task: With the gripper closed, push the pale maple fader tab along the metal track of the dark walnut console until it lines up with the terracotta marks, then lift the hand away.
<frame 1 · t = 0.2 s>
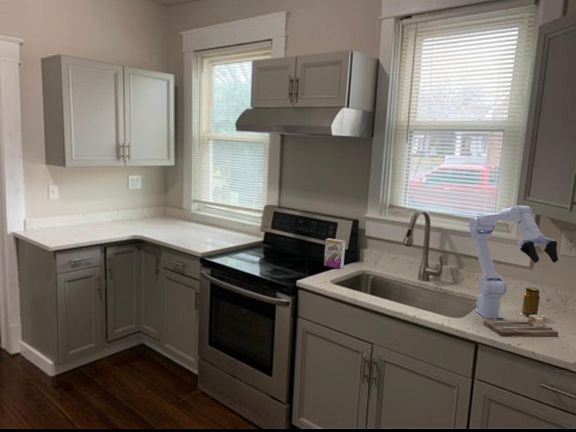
hand: (546, 261, 160), 31 cm above the countertop, tool tilted 45°, fingers open, 7 cm apart
candy bar box: (333, 267, 261), on the countertop
condiment: (531, 316, 194), on the countertop
fader tab: (535, 321, 176), point 4 cm above the countertop, slide at 0.5 cm
console: (519, 329, 176), on the countertop
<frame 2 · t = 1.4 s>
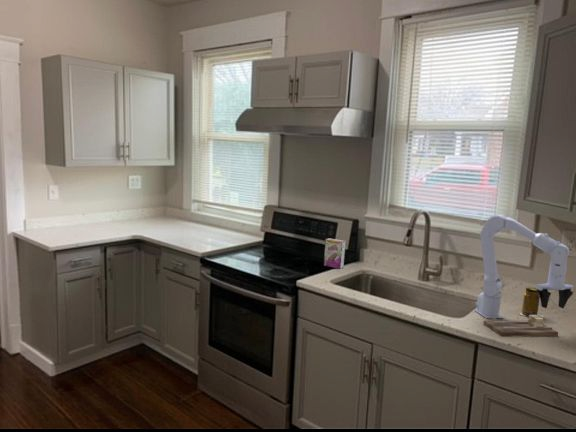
hand: (552, 307, 176), 10 cm above the countertop, tool pointing down, fingers open, 7 cm apart
nothing on the countertop moved.
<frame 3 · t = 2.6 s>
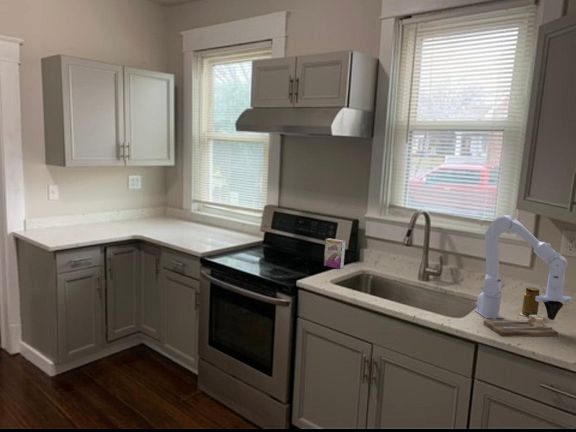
hand: (550, 318, 177), 5 cm above the countertop, tool pointing down, fingers closed
nothing on the countertop moved.
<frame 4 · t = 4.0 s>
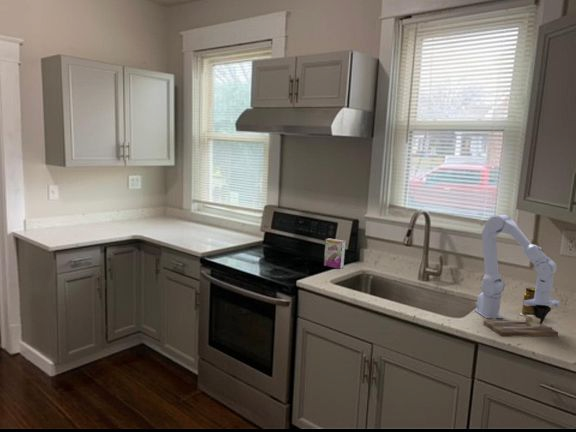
hand: (538, 322, 177), 3 cm above the countertop, tool pointing down, fingers closed
fader tab: (532, 321, 176), point 4 cm above the countertop, slide at 1.8 cm, touching gripper
everything else where it was.
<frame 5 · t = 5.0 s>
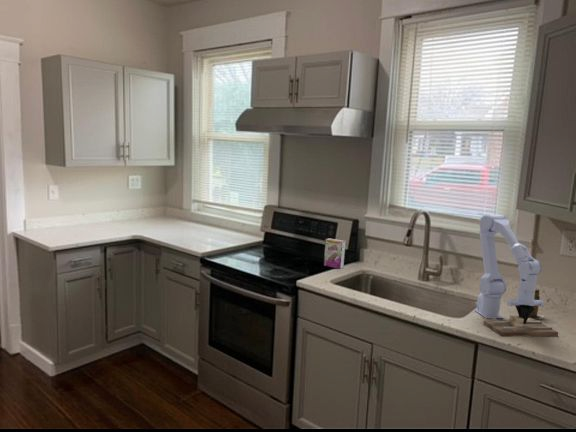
hand: (522, 322, 176), 3 cm above the countertop, tool pointing down, fingers closed
fader tab: (516, 321, 175), point 4 cm above the countertop, slide at 9.0 cm, touching gripper
everything else where it was.
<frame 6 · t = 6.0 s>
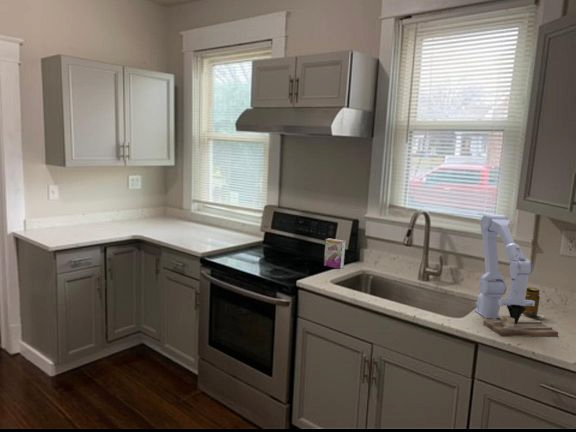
hand: (513, 322, 175), 3 cm above the countertop, tool pointing down, fingers closed
fader tab: (507, 321, 174), point 4 cm above the countertop, slide at 12.9 cm, touching gripper
everything else where it was.
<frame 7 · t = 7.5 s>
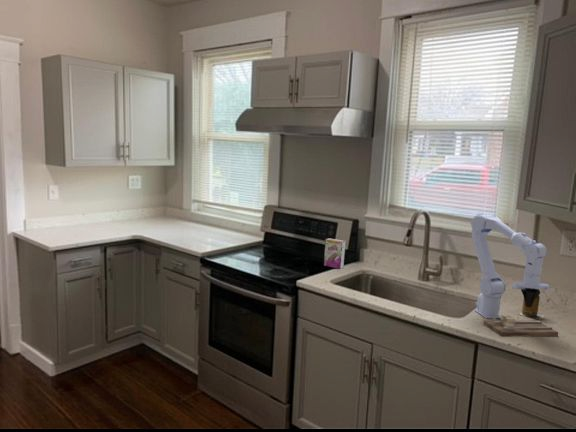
hand: (528, 306, 176), 9 cm above the countertop, tool pointing down, fingers closed
fader tab: (507, 321, 174), point 4 cm above the countertop, slide at 12.9 cm
everything else where it was.
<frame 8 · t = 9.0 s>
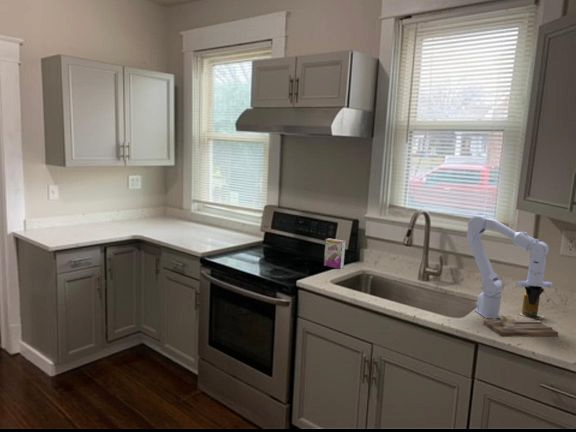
hand: (531, 304, 179), 9 cm above the countertop, tool pointing down, fingers closed
nothing on the countertop moved.
at the end: fader tab slide at 12.9 cm; condiment moved 0.3 cm from its start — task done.
